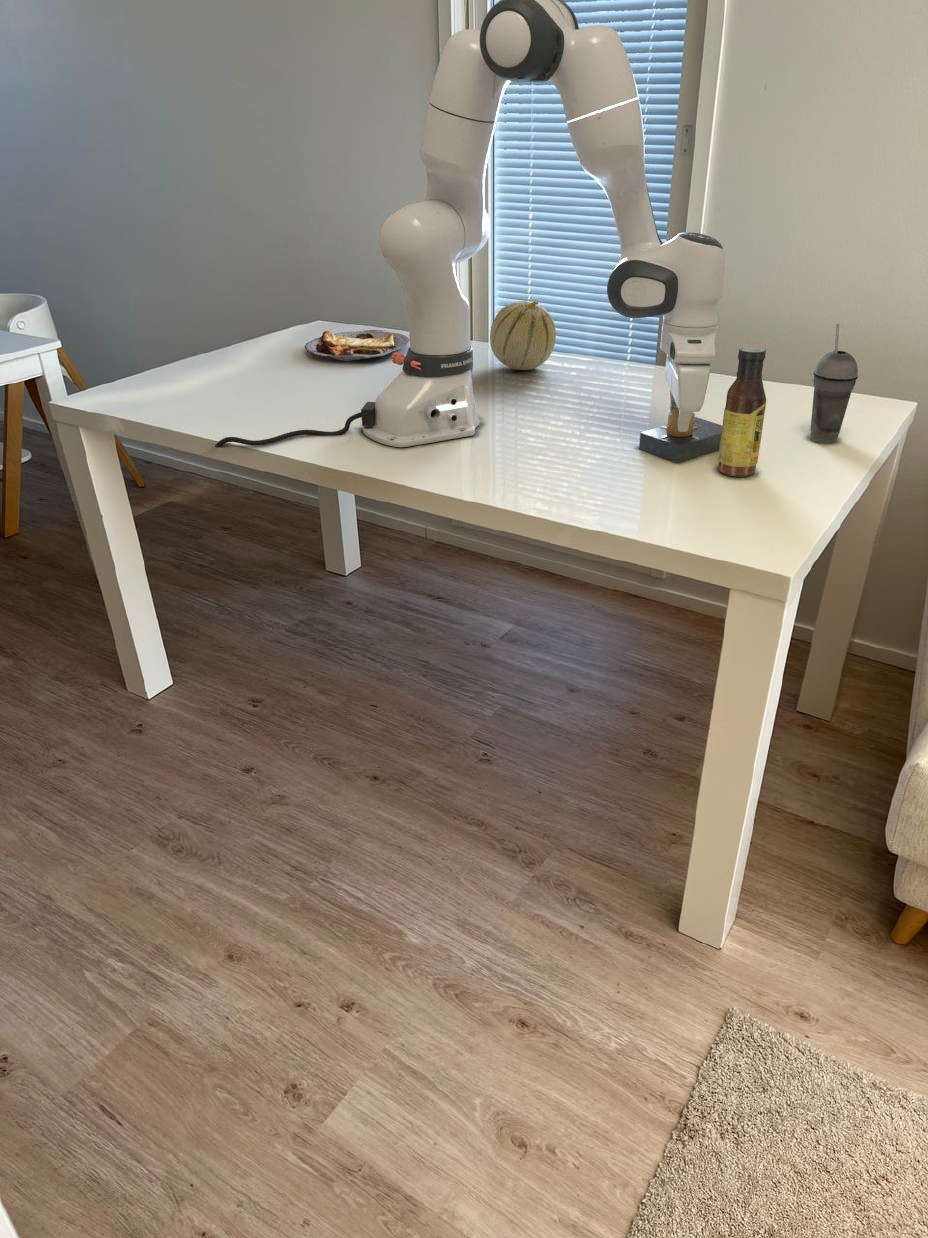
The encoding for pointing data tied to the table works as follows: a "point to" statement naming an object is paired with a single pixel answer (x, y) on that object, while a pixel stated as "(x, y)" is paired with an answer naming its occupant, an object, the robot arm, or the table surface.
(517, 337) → the cantaloupe
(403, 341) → the food plate
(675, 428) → the tan cylinder
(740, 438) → the sauce bottle
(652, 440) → the grey dial panel
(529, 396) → the table surface
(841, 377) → the beverage cup
